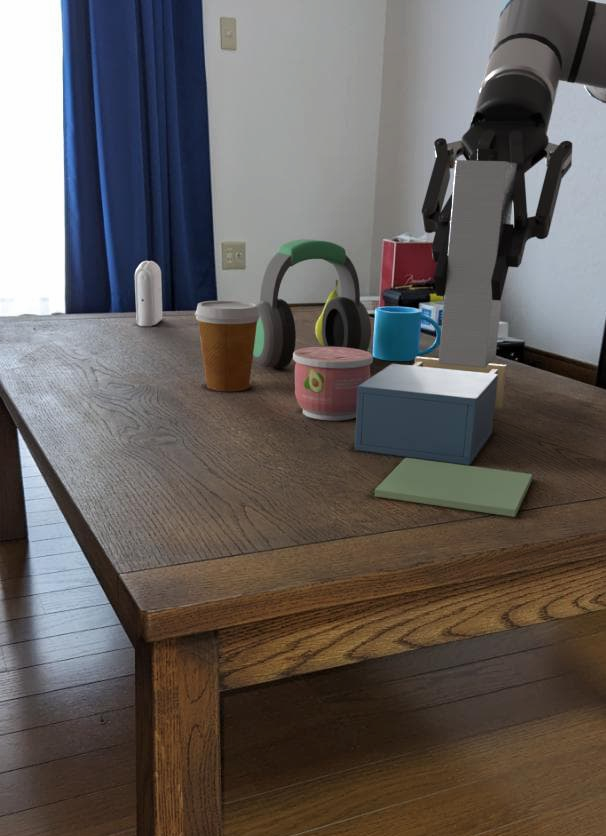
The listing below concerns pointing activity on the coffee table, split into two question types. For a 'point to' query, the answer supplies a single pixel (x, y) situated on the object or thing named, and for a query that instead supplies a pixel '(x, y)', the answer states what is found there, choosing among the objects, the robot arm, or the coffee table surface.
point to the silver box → (475, 259)
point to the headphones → (341, 315)
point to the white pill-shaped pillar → (148, 294)
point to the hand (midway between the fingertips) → (467, 288)
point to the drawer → (489, 368)
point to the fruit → (319, 323)
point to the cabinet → (426, 413)
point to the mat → (456, 486)
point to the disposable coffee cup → (227, 342)
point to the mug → (400, 333)
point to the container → (330, 380)
